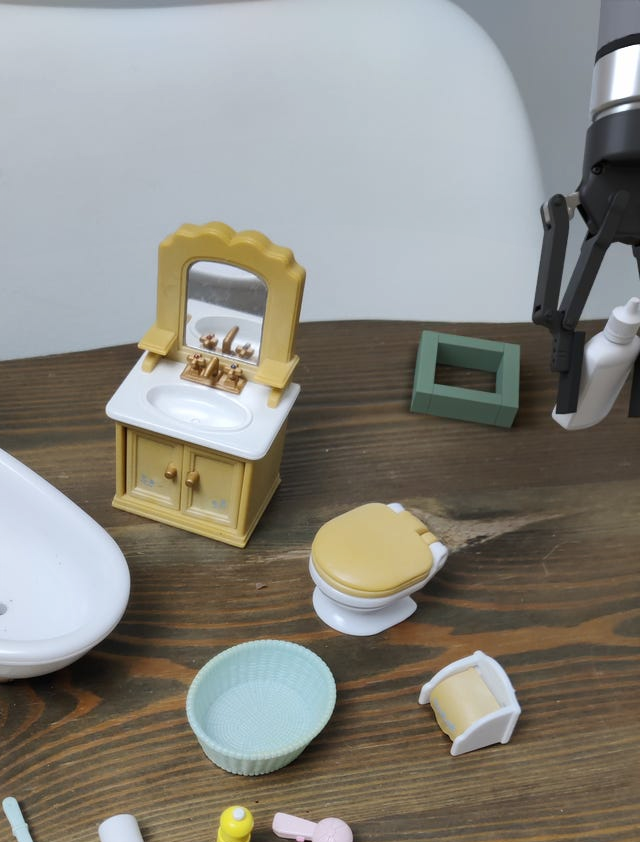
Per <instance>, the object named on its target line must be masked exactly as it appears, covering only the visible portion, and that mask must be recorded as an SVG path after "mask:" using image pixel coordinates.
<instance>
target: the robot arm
mask: <svg viewBox="0 0 640 842" xmlns="http://www.w3.org/2000/svg"><path fill="white" fill-rule="evenodd" d="M599 9H600V10H599V23H598V34H597V44H596V45H597V46H596V53H595V56H594V67H593V73H592V82H591V89H590V90H591V92H590V99H589V102H590V103H589V109H588V119H589V121H590V122H591V124H590V125H589V127H588V128H587V130H586V132H585V133H586V134H585V140H584V141H585V142H584V144H585V145H584V152H583V160H582V167H581V168H582V169H581V175H582V176H581V181H580V182H579V185H578V186H577V188H576V189H575V191H574V192H571V193H568V194H564V195H563V194H561V193H555V194H554V195H552V196H551V197H550V198H549V199H547V200H546V201H544V202H543V203H542V204H541V205H540V208H539V213H540V219H541V223H542V229H543V236H542V244H541V251H540V258H539V265H538V272H537V279H536V285H535V293H534V299H533V306H532V312H531V321H532V324H534V325H536V326H541V327H544V328H546V329H548V332H549V333H550V334H551V335H552V342H551V352H550V361H549V368H550V372H551V373H556V374H557V373H558V374H559V376H558V385H557V395H556V404H555V406H556V412H555V414H571V413H577V405H578V396H579V387H580V379H581V370H582V361H583V353H584V346H585V344H586V336H587V335H586V334H587V331H583V330H582V331H581V330H575V329H576V328H577V326H578V324H579V321H580V319H581V316H582V314H583V312H584V309H585V307H586V304H587V301H588V299H589V297H590V294H591V292H592V289H593V286H594V284H595V281H596V279H597V276H598V274H599V271H600V268H601V266H602V263H603V262H604V258H605V255H606V253H607V251H608V250H609V248H610V247H611V245H612V244H615V243H621V244H623V245H627V246H631V251H632V255H633V258H635V261H636V264H637V271H638V279H639V280H640V0H600V7H599ZM575 210H577V211H578V213H579V215H580V217H581V218H582V220H583V222H584V224H585V225H586V227H587V230H586V233H585V236H584V238H583V241H582V244H581V246H580V249H579V250H580V254H579V255H578V259H577V261H576V264H575V266H574V268H573V271H572V273H571V277H570V279H569V282H568V284H567V286H566V289H565V292H564V294H563V297H562V299H561V302H560V305H559V301H560V294H561V288H562V282H563V275H564V267H565V260H566V254H567V247H568V241H569V233H570V221H571V220H573V219H574V217H575ZM630 388H631V389H630V396H629V403H628V404H629V405H628V413H627V418H631V419H632V418H633V419H639V418H640V353H639V355H638V357H637V359H636V361H635V363H634V365H633V372H632V379H631V387H630Z"/></svg>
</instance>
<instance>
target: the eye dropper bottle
mask: <svg viewBox="0 0 640 842" xmlns="http://www.w3.org/2000/svg"><path fill="white" fill-rule="evenodd" d="M639 305H640V298H638V297H637V296H632V297H631V298H630V299H629V300H628V301H627V302H626V304H625V305H619V306H616V307H615V308H613V309H612V311H611V313H610V316H609V317H608V319H607V322H606V324H605V326H604V328H603V330H602V331H600V332H599V333H597V334H595V335H594V336H592V337H591V338H590V339H589V340H588V341H587V342H585V344H584V353H583V361H582V370H581V379H580V387H579V396H578V405H577V413H571V414H555V412H556V405H555V406H554V408H553V410H552V413H551V418H552V419H553V420H554V421H555V422H556V423H557V424H558V425H560V426H561V427H562V428H564V429H565V430H567V431H577V430H584V429H588V428H590V427H591V428H592V427H593V426H595V425H597V424H598V423H600V422H601V421H603V420H604V419H605V418H606V417H607V415H608V414H609V413H610V412H611V409H612V408H613V405H614V404H615V402H616V400H617V399H618V396H619V394H620V392H621V390H622V388H623V387H624V385H625V383H626V380H627V379H628V377H629V374H630V373H631V371H632V368H634V363H635V361H636V359H637V357H638V355H639V353H640V336H638V335H637V333H638V330H639V328H640V310H639Z"/></svg>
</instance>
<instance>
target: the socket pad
mask: <svg viewBox="0 0 640 842" xmlns="http://www.w3.org/2000/svg"><path fill="white" fill-rule="evenodd" d="M436 364H441V365H448V366H454V367H460V368H467V369H473V370H478V371H484V372H492V373H496V377H495V378H496V379H495V393H494V392H489V391H482V390H477V389H470V388H464V387H457V386H451V385H444V384H438V383H435V376H436V366H437V365H436ZM520 367H521V345H520V344H516V343H508V342H502V341H495V340H491V339H483V338H482V339H481V338H477V337H476V338H475V337H470V336H462V335H457V334H450V333H444V332H438V331H433V330H425V329H423V331H422V334H421V338H420V341H419V344H418V348H417V355H416V362H415V369H414V379H413V387H412V394H411V401H410V402H411V403H410V410H409V411H410V412H411V413H418V414H423V415H428V416H429V415H430V416H436V417H442V418H449V419H454V420H460V421H466V422H471V423H478V424H483V425H484V424H485V425H490V426H497V427H503V428H508V429H510V428H512V426H513V423H514V420H515V418H516V415H517V413H518V410H519V404H520V373H521V372H520Z"/></svg>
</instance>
